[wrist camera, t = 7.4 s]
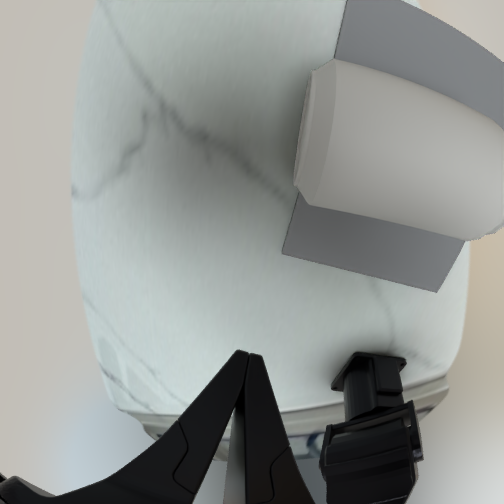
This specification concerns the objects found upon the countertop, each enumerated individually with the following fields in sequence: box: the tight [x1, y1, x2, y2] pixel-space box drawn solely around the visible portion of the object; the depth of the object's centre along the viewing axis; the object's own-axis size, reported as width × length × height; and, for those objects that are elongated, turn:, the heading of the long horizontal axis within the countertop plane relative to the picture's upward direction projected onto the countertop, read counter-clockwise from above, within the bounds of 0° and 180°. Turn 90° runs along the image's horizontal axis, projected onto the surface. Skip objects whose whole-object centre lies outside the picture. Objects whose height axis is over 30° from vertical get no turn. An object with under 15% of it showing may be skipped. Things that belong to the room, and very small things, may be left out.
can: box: [293, 59, 504, 241], centre depth 13 cm, size 8×8×12 cm
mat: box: [282, 0, 504, 293], centre depth 16 cm, size 20×14×1 cm
